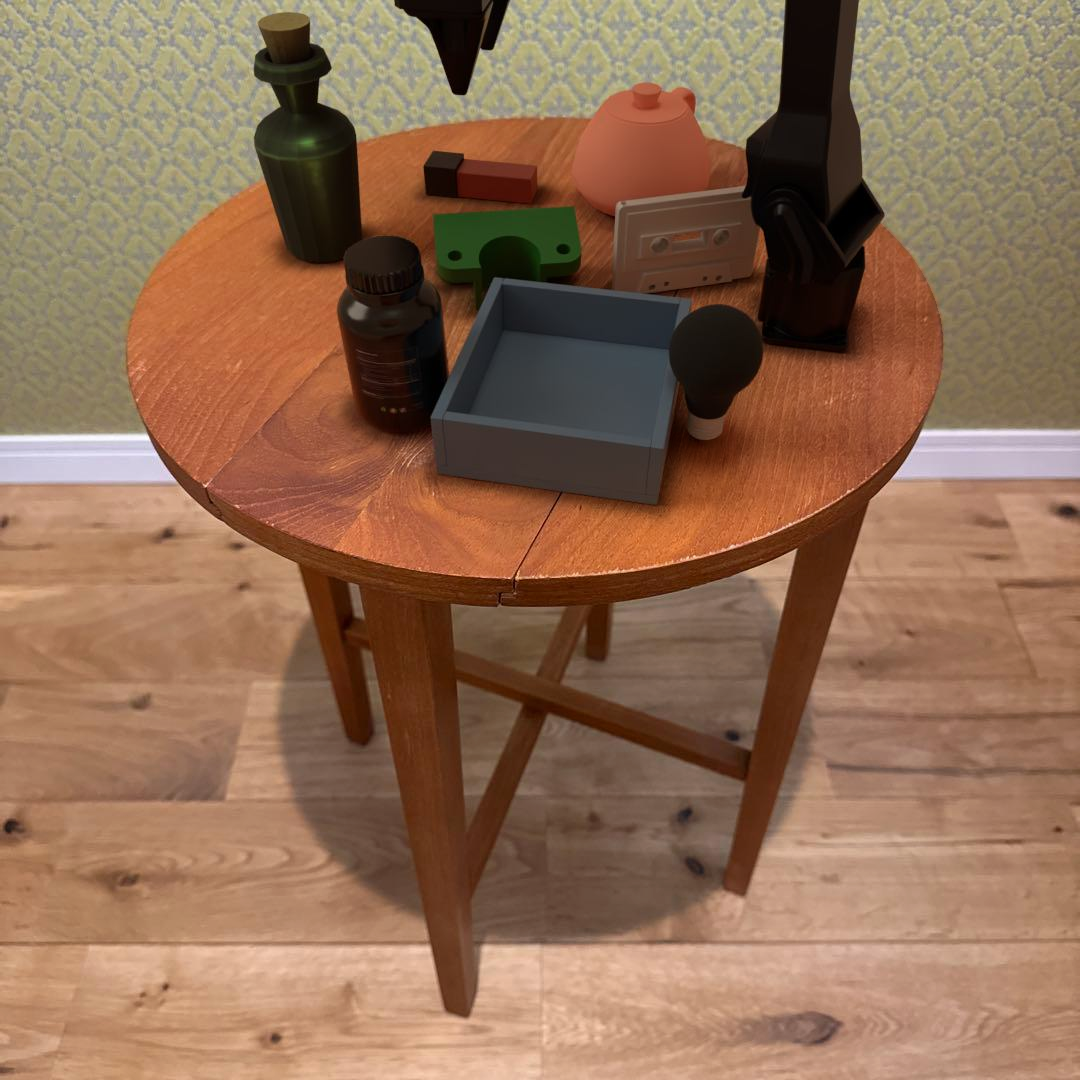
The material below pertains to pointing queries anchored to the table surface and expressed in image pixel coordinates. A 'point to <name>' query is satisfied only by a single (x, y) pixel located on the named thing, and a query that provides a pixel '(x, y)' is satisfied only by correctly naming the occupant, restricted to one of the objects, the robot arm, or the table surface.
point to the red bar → (479, 178)
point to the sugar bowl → (641, 148)
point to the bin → (563, 391)
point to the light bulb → (714, 363)
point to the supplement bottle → (392, 334)
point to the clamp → (506, 246)
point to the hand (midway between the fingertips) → (473, 71)
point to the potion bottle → (306, 146)
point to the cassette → (683, 241)
